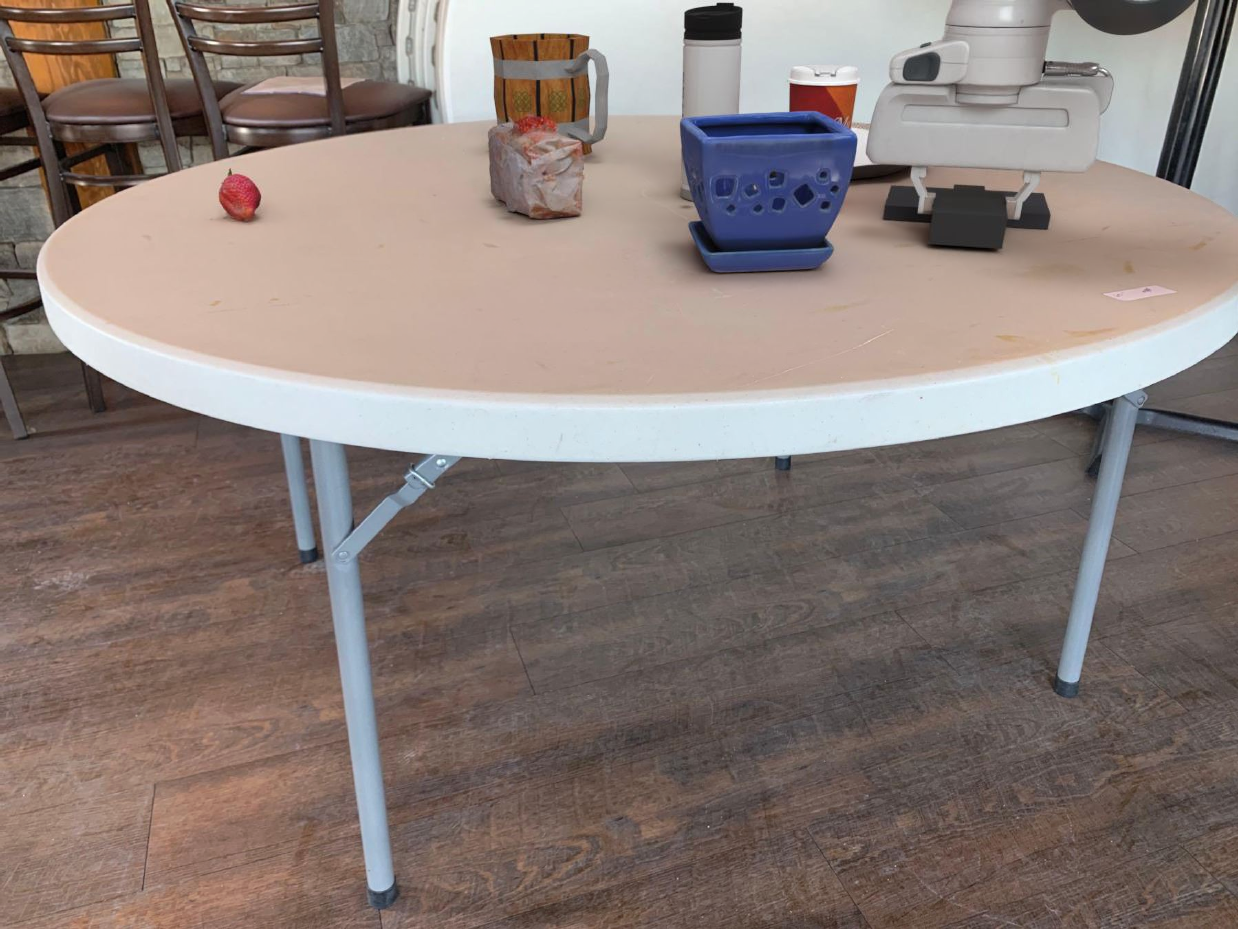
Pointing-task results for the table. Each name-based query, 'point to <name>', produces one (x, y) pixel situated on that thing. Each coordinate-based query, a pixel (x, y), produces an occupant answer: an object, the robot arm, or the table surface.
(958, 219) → the black block
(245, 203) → the fruit
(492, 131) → the wrapped gift box
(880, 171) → the plate
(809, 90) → the paper cup
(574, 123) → the mug
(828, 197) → the flower pot
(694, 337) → the table surface
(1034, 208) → the charcoal pad
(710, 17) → the travel mug
